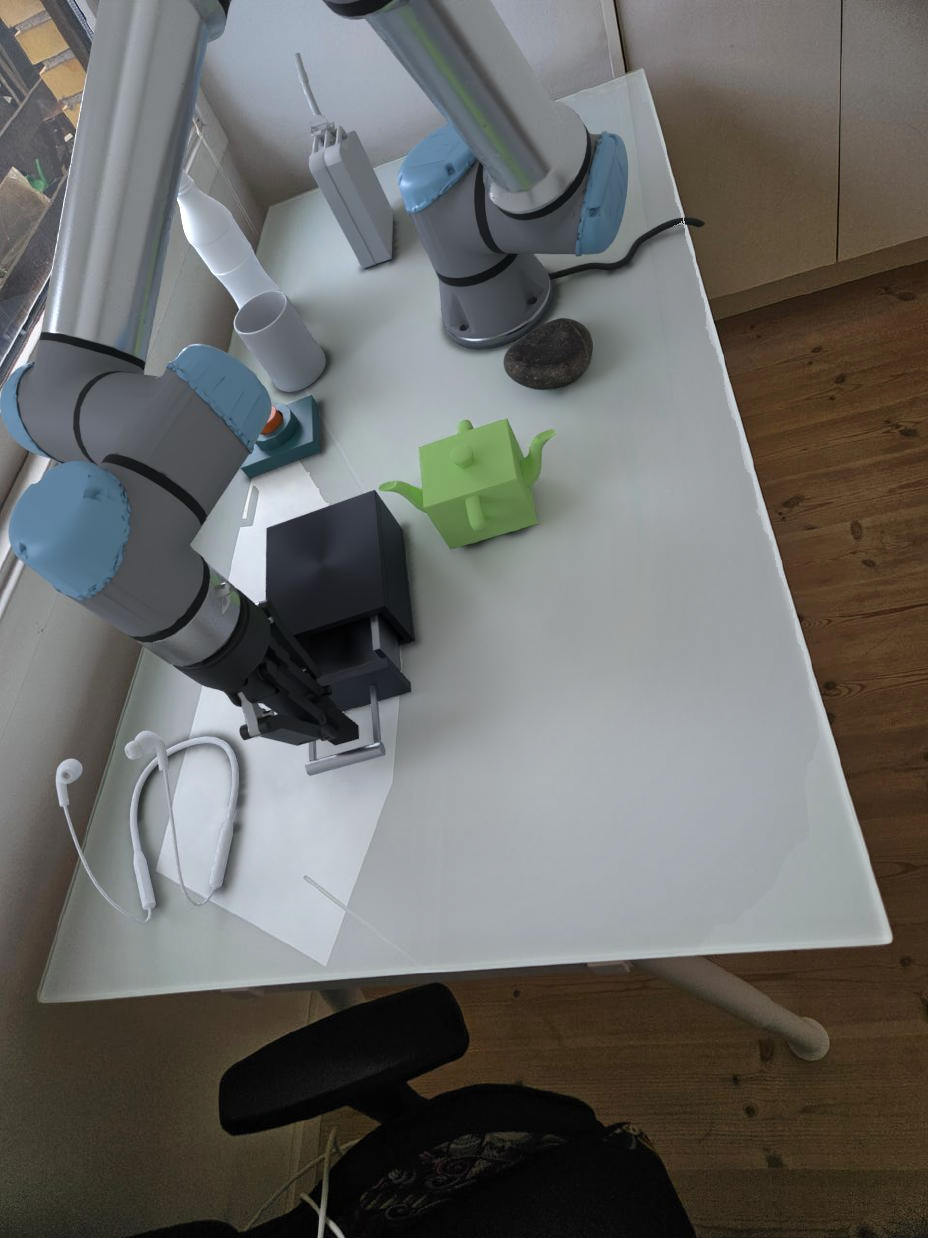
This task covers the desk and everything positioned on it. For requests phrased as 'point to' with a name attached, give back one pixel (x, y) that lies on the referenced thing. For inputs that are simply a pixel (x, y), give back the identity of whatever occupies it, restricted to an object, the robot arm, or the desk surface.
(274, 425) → the stop button
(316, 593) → the black box
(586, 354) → the stone
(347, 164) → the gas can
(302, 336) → the mug
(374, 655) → the drawer
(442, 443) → the teapot
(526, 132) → the robot arm
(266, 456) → the stop button base
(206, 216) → the water bottle
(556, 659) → the desk surface
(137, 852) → the earphone
